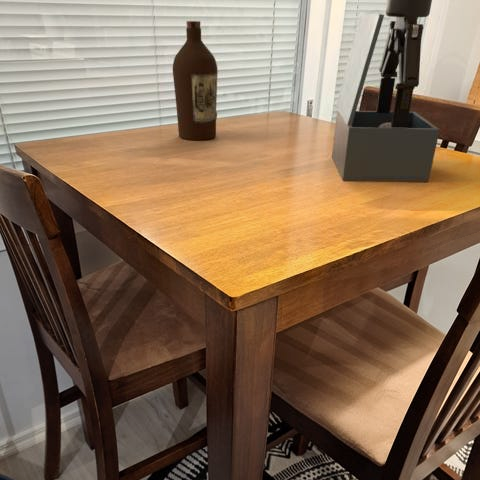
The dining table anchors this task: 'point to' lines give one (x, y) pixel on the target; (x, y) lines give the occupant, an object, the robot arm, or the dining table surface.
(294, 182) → the dining table surface
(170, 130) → the dining table surface
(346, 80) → the lid
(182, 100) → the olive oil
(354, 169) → the chest
